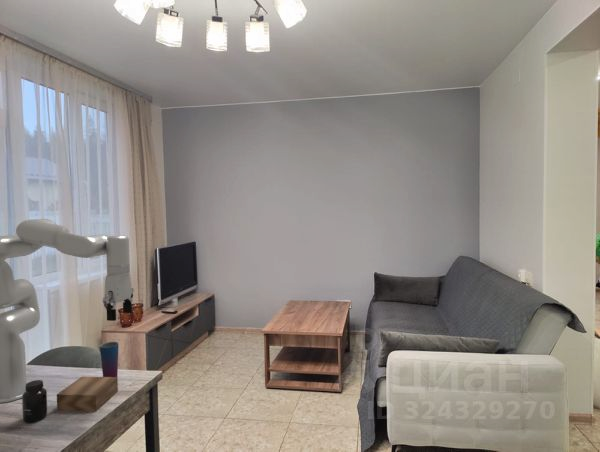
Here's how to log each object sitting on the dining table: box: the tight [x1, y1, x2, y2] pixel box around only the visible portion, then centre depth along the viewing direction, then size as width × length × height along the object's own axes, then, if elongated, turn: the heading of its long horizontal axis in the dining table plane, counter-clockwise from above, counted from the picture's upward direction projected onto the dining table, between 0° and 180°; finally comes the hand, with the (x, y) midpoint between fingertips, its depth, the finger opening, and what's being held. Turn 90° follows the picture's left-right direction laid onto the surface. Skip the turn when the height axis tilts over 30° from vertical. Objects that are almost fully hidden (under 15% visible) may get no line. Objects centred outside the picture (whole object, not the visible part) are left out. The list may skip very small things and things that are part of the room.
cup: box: [99, 341, 119, 378], centre depth 155 cm, size 7×7×15 cm
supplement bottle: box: [21, 379, 48, 424], centre depth 128 cm, size 7×7×12 cm
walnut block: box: [56, 376, 119, 412], centre depth 139 cm, size 14×14×6 cm
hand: (119, 316), depth 139 cm, fingers open, 9 cm apart
